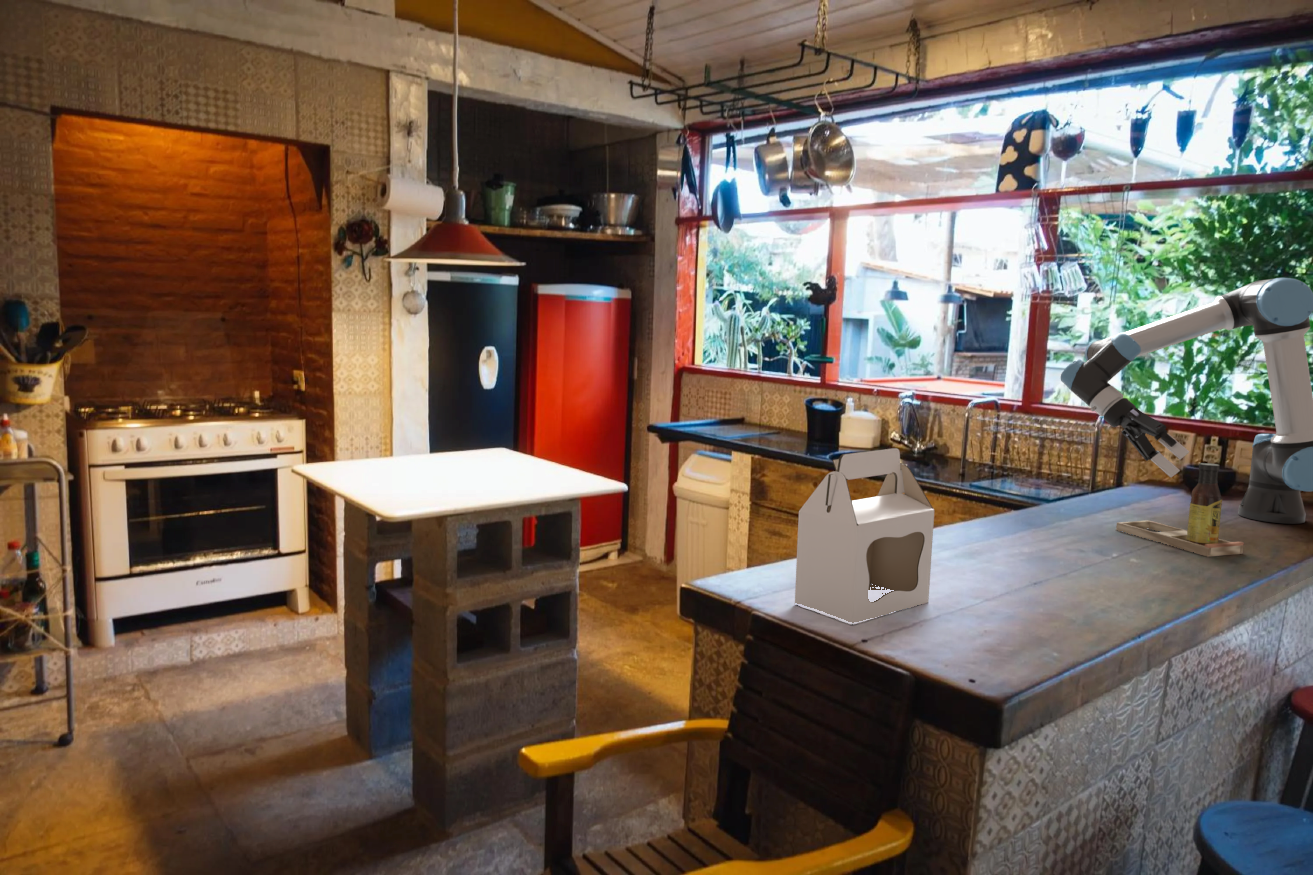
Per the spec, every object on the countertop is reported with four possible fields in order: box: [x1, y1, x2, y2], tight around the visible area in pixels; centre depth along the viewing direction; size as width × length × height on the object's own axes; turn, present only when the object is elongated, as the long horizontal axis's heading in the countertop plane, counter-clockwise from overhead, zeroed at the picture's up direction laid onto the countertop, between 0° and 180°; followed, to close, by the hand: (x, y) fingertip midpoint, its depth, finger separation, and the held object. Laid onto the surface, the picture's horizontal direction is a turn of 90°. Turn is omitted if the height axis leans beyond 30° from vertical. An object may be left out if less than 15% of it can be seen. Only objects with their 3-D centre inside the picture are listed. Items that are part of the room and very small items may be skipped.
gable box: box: [794, 447, 935, 623], centre depth 161 cm, size 22×13×28 cm, turn 129°
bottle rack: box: [1115, 519, 1245, 557], centre depth 216 cm, size 11×26×3 cm, turn 19°
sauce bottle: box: [1187, 462, 1223, 546], centre depth 208 cm, size 6×6×20 cm
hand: (1180, 465), depth 224 cm, fingers open, 13 cm apart
